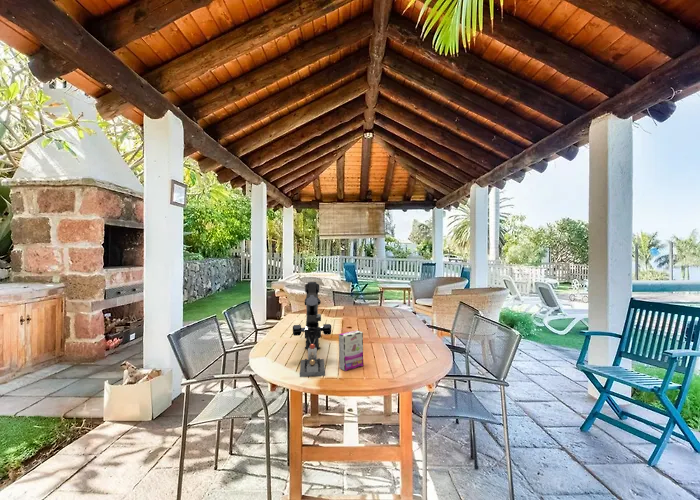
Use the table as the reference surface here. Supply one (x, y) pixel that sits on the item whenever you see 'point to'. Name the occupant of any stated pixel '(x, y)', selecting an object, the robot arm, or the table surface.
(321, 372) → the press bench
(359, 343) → the candy bar box
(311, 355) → the lever
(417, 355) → the table surface
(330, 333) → the robot arm
